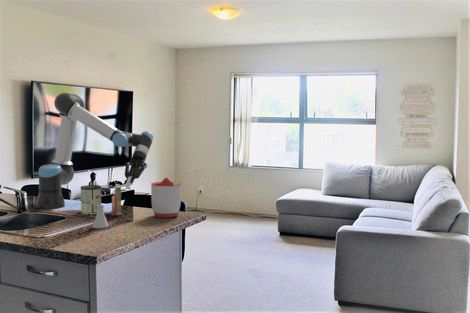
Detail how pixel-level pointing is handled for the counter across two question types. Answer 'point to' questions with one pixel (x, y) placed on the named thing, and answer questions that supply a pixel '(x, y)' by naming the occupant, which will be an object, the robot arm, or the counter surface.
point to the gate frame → (113, 205)
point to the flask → (100, 218)
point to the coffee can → (90, 199)
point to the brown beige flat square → (118, 198)
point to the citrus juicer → (165, 198)
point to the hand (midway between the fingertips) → (127, 187)
